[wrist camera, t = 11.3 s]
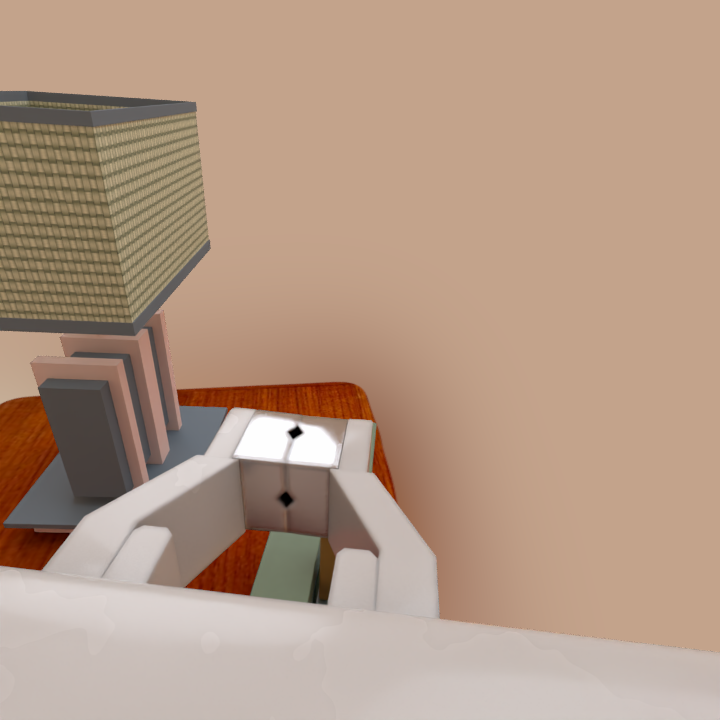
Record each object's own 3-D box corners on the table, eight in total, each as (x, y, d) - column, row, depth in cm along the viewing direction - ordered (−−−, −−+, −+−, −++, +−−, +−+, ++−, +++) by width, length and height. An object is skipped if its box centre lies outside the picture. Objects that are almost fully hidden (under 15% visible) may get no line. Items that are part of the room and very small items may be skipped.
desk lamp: (106, 417, 54) (21, 90, 38) (230, 421, 55) (199, 102, 39) (6, 552, 38) (-212, 92, 22) (182, 556, 39) (96, 111, 23)
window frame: (364, 553, 40) (376, 422, 33) (323, 966, 21) (332, 860, 14) (306, 546, 41) (306, 415, 34) (215, 948, 22) (173, 836, 15)
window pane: (347, 578, 36) (362, 362, 27) (330, 713, 28) (342, 474, 19) (334, 577, 36) (345, 360, 27) (313, 711, 28) (318, 472, 19)
